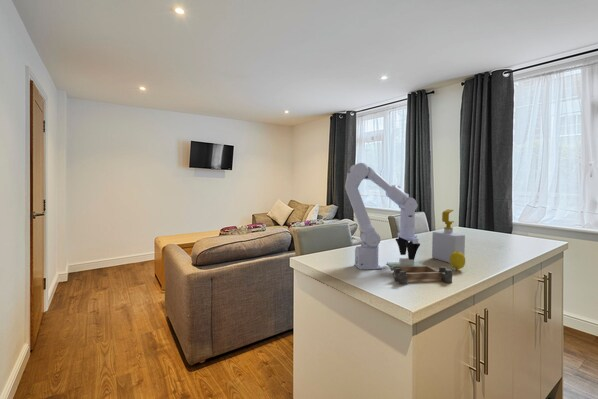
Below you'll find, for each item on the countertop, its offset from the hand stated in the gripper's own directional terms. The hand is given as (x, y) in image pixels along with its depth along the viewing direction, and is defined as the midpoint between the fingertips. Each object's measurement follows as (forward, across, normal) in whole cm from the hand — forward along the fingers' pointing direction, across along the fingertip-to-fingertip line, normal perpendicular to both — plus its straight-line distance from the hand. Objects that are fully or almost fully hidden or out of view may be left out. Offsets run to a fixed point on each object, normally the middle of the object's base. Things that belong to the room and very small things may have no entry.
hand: (407, 257), depth 119 cm
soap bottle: (+4, +7, -23) cm, 24 cm away
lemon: (+4, -7, -18) cm, 20 cm away
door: (+4, 0, 0) cm, 5 cm away
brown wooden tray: (+4, -15, +3) cm, 16 cm away
